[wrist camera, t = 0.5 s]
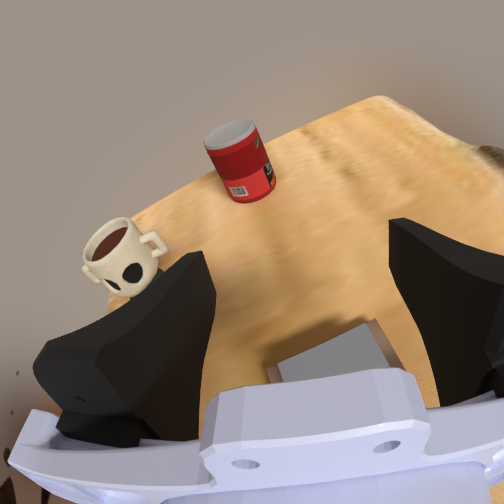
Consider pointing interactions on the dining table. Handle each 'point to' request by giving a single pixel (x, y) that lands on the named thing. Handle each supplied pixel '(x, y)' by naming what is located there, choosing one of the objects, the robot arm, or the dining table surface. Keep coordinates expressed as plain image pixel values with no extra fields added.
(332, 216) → the dining table surface
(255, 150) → the canned food
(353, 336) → the top slab
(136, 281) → the character mug
